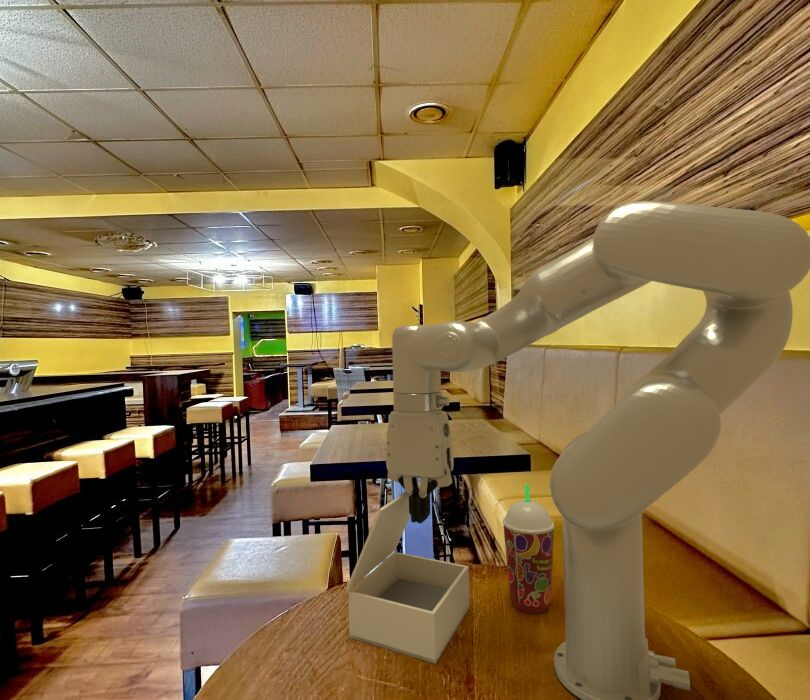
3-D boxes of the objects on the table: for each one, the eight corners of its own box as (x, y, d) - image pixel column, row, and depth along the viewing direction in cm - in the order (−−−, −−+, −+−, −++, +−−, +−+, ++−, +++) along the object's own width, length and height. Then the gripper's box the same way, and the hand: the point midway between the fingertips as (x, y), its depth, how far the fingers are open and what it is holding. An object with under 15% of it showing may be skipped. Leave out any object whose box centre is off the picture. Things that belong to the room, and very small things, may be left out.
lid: (425, 481, 79) (422, 480, 79) (381, 510, 65) (379, 508, 65) (395, 550, 81) (393, 548, 82) (347, 591, 67) (344, 589, 68)
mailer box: (469, 607, 75) (468, 566, 75) (435, 663, 61) (433, 614, 61) (395, 589, 81) (394, 551, 81) (349, 637, 68) (348, 592, 68)
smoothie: (546, 624, 69) (542, 495, 70) (496, 607, 74) (493, 487, 75) (563, 600, 76) (560, 482, 76) (517, 585, 81) (513, 475, 81)
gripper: (470, 402, 71) (472, 518, 71) (387, 399, 77) (389, 506, 77) (453, 408, 64) (456, 536, 64) (364, 404, 71) (366, 521, 71)
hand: (419, 519), depth 71 cm, fingers closed
